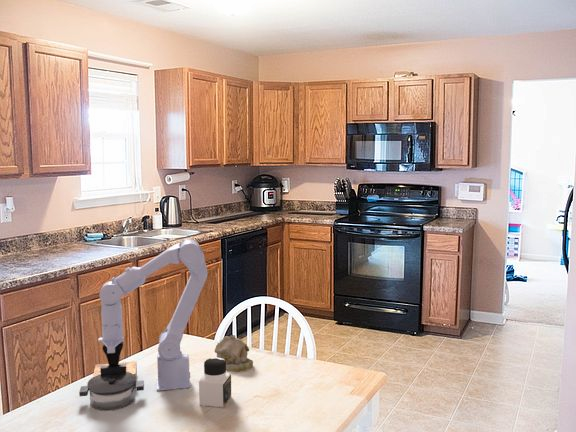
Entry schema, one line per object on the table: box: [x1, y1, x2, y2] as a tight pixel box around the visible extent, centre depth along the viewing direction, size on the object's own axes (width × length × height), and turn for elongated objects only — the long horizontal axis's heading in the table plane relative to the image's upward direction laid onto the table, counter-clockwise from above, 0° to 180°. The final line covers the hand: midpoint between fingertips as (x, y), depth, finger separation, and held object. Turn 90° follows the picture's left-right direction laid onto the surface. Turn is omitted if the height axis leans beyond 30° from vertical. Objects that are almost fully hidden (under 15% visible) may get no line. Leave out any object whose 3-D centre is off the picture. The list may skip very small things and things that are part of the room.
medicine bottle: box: [198, 356, 232, 408], centre depth 154 cm, size 7×7×12 cm
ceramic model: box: [214, 334, 254, 373], centre depth 180 cm, size 14×11×10 cm
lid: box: [86, 364, 137, 394], centre depth 154 cm, size 13×13×3 cm
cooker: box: [78, 360, 145, 412], centre depth 160 cm, size 17×22×4 cm
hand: (114, 368), depth 162 cm, fingers closed
